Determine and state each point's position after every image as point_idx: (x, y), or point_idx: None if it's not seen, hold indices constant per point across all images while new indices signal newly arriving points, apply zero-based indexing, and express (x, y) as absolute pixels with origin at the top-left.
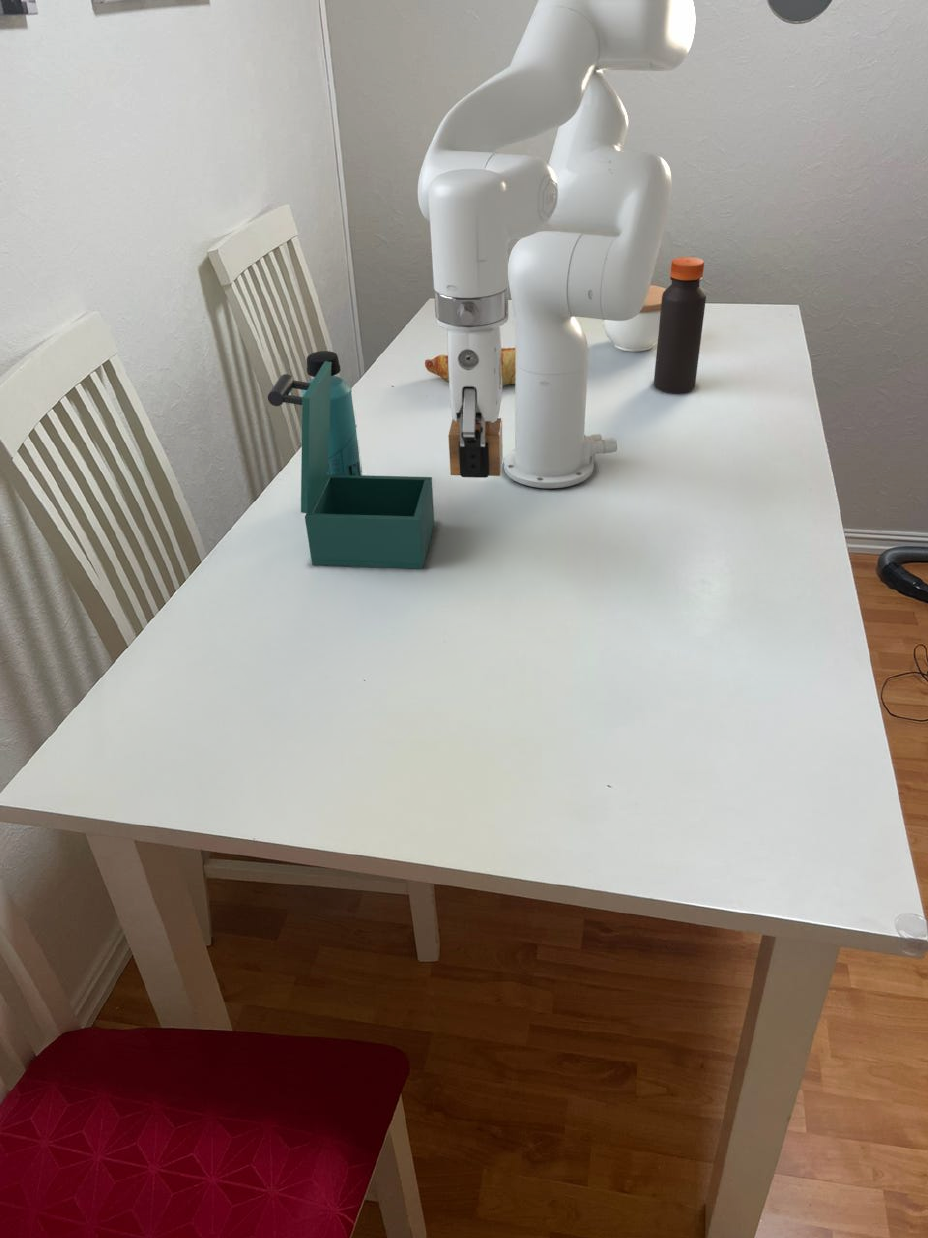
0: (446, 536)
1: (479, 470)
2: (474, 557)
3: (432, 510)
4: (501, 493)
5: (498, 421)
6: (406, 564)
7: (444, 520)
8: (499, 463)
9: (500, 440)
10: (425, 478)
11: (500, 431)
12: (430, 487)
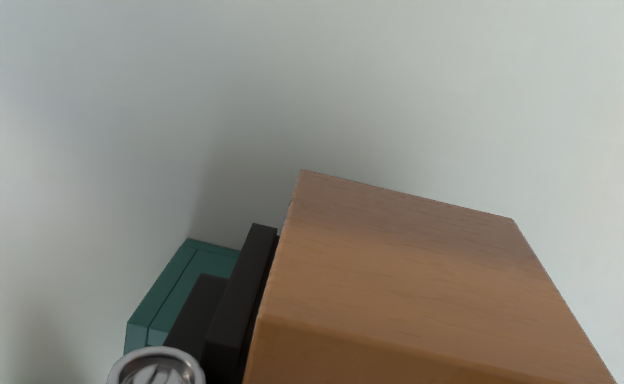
0: (253, 216)
1: None
2: (374, 160)
3: (190, 269)
4: (12, 20)
5: (327, 355)
6: None
7: (168, 209)
8: (537, 258)
9: (480, 304)
10: (137, 341)
11: (486, 350)
12: (174, 321)
